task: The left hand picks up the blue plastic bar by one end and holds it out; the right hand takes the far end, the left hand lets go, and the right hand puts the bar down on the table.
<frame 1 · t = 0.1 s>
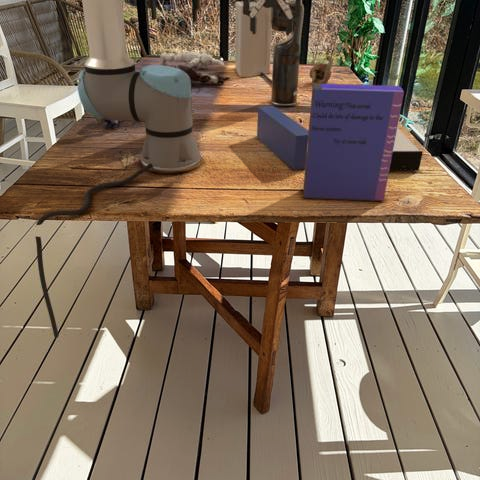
left hand: (174, 20, 152), 28 cm above the table, tool pointing down, fingers open, 13 cm apart
right hand: (270, 34, 121), 29 cm above the table, tool pointing down, fingers open, 8 cm apart
anatomical model: (319, 84, 199), on the table
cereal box: (342, 195, 108), on the table
toy: (193, 68, 224), on the table
disc drive: (372, 155, 130), on the table
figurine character: (116, 124, 150), on the table
figurine: (192, 84, 196), on the table
bar: (281, 151, 132), on the table
tall white block: (253, 72, 218), on the table
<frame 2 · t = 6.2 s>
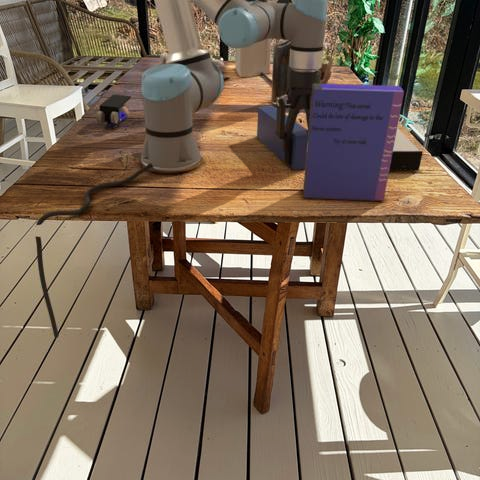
left hand: (297, 162, 123), 1 cm above the table, tool pointing down, fingers closed on bar, 5 cm apart
right hand: (280, 26, 140), 28 cm above the table, tool pointing down, fingers open, 8 cm apart
bar: (281, 151, 132), on the table, touching left hand
everything else where it was.
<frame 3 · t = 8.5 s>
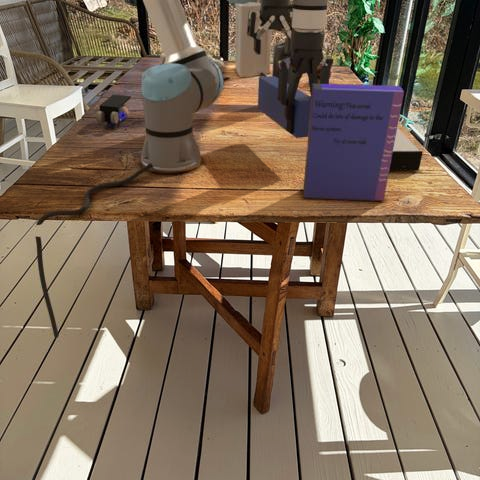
left hand: (299, 131, 119), 9 cm above the table, tool pointing down, fingers closed on bar, 5 cm apart
right hand: (272, 53, 129), 23 cm above the table, tool pointing down, fingers open, 8 cm apart
bar: (283, 121, 127), point 8 cm above the table, touching left hand
everything else where it was.
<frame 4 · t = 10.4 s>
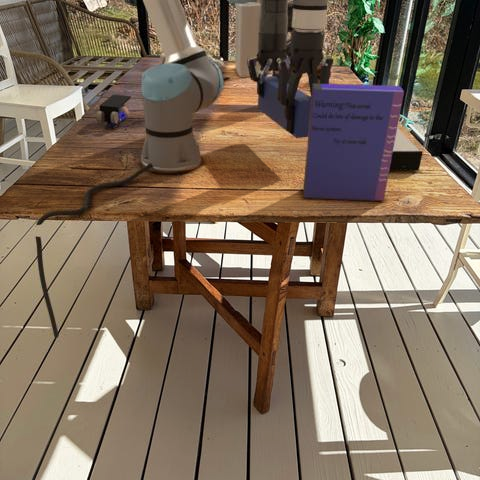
left hand: (299, 130, 119), 9 cm above the table, tool pointing down, fingers closed on bar, 5 cm apart
right hand: (269, 95, 133), 13 cm above the table, tool pointing down, fingers closed on bar, 4 cm apart
bar: (283, 121, 127), point 8 cm above the table, touching left hand, right hand
everything else where it was.
when the left hand's fingers open (9 cm above the table, at t = 11.1 s): bar stays where it is, held by the right hand.
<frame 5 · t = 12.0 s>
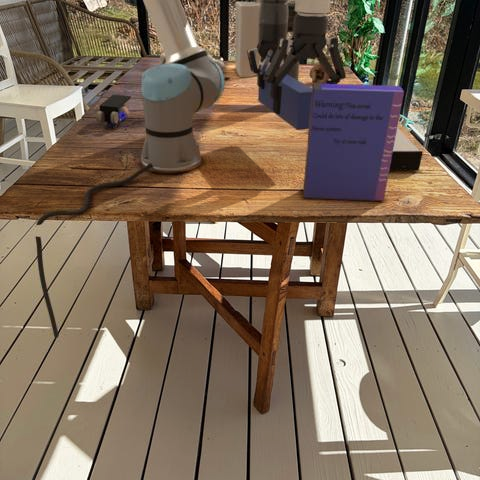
left hand: (302, 110, 115), 14 cm above the table, tool pointing down, fingers open, 13 cm apart
right hand: (270, 87, 132), 15 cm above the table, tool pointing down, fingers closed on bar, 4 cm apart
bar: (284, 113, 126), point 10 cm above the table, touching right hand
everything else where it was.
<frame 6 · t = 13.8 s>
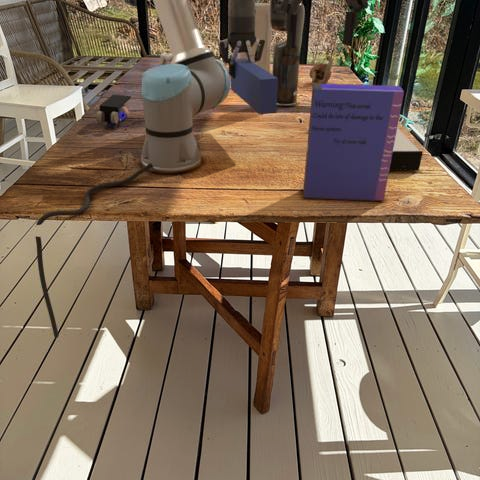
left hand: (319, 46, 103), 30 cm above the table, tool pointing down, fingers open, 13 cm apart
right hand: (241, 76, 142), 15 cm above the table, tool pointing down, fingers closed on bar, 4 cm apart
bar: (251, 100, 136), point 11 cm above the table, touching right hand
everything else where it was.
when the right hand's fingers open (6 cm above the table, at t = 17.6 s): bar drops 2 cm, on the table.
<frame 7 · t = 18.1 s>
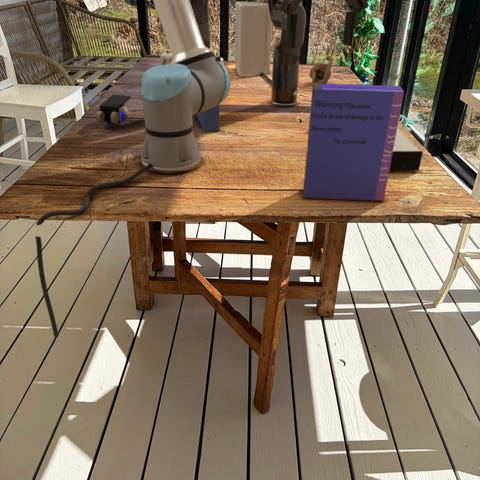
left hand: (319, 46, 103), 30 cm above the table, tool pointing down, fingers open, 13 cm apart
right hand: (200, 89, 161), 7 cm above the table, tool pointing down, fingers open, 8 cm apart
bar: (205, 118, 156), on the table
everything else where it was.
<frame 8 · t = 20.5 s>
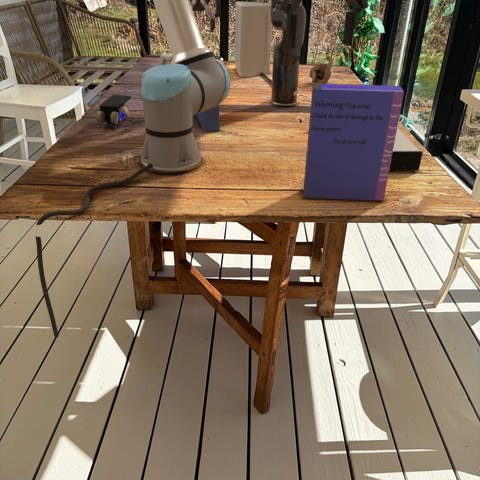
left hand: (319, 46, 103), 30 cm above the table, tool pointing down, fingers open, 13 cm apart
right hand: (198, 32, 152), 25 cm above the table, tool pointing down, fingers open, 8 cm apart
nothing on the table moved.
at the end: bar inside the target area (10.0 cm from its centre), on the table; the left hand is holding nothing; the right hand is holding nothing; bar at rest at the end (0.0 cm/s) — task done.
